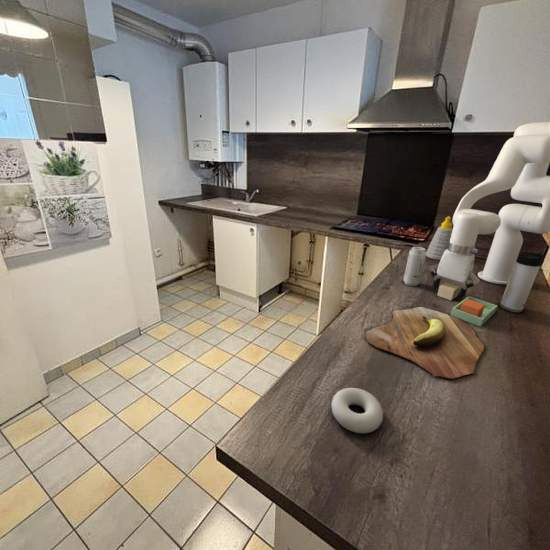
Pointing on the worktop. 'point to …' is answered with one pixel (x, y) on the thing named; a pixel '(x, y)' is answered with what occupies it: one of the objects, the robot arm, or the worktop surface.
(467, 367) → the cutting board
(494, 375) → the worktop surface
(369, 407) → the donut
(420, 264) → the energy drink can
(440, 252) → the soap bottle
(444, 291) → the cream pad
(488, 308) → the tray
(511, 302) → the travel mug
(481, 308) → the orange block
